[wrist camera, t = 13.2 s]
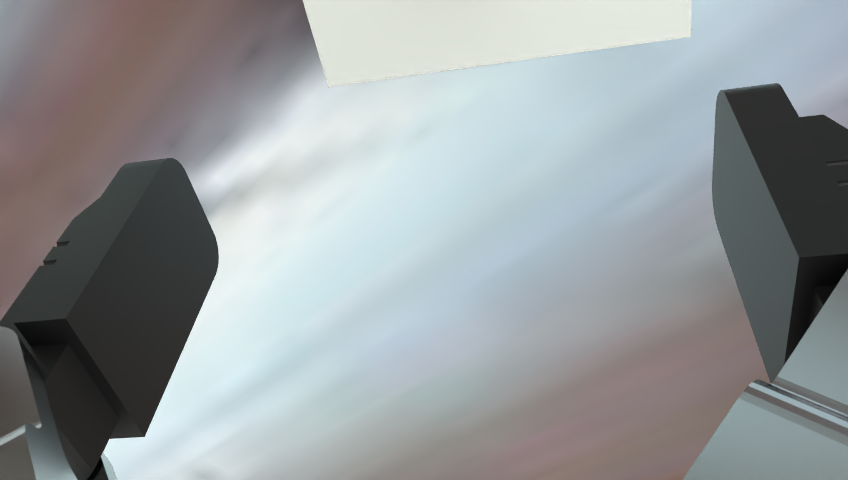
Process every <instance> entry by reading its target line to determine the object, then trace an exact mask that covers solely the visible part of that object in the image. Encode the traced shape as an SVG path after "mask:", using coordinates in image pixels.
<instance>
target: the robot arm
mask: <svg viewBox="0 0 848 480" xmlns="http://www.w3.org/2000/svg"><path fill="white" fill-rule="evenodd" d="M712 196H713V207H714V214H715V219H716V224H717V227H718V231H719V233H720V236H721V239H722V242H723V245H724V248H725V251H726V254H727V257H728V260H729V263H730V266H731V269H732V271H733V274H734V277H735V280H736V283H737V286H738V289H739V292H740V295H741V298H742V301H743V304H744V307H745V309H746V312H747V315H748V318H749V321H750V324H751V327H752V330H753V333H754V336H755V339H756V342H757V345H758V347H759V350H760V353H761V356H762V359H763V362H764V365H765V368H766V371H767V374H768V377H769V380H770V383H771V384H768V383H766V382H763V381H761V380H755V381H754V382H752V383H751V384H750V385H749V386H748V387H747V388H746V389H745V390H744V391H743V393H742V394H741V395H740V397H739V398H738V399H737V401H736V402H735V404H734V405H733V407H732V408H731V410H730V411H729V413H728V414H727V416H726V417H725V418H724V420H723V421H722V423H721V424H720V426H719V427H718V429H717V430H716V432H715V433H714V435H713V436H712V438H711V439H710V440H709V442H708V443H707V445H706V446H705V448H704V449H703V451H702V452H701V454H700V455H699V457H698V458H697V459H696V461H695V462H694V464H693V465H692V467H691V468H690V470H689V471H688V473H687V474H686V476H685V477H684V479H683V480H848V129H846V128H845V127H843V126H841V125H840V124H838V123H836V122H835V121H833V120H831V119H830V118H828V117H827V116H825V115H816V116H807V117H799V116H798V114H797V113H796V111H795V109H794V107H793V106H792V104H791V102H790V100H789V99H788V97H787V95H786V94H785V92H784V90H783V88H782V87H781V85H779V84H777V83H775V84H767V85H759V86H751V87H743V88H735V89H727V90H721V91H719V93H718V96H717V101H716V114H715V135H714V157H713V178H712ZM56 243H57V247H53V248H52V249H51V251H50V252H49V254H48V255H47V256H46V258H45V259H44V261H43V262H44V266H39V268H38V269H37V271H36V272H35V273H34V275H33V276H32V278H31V279H30V280H29V282H28V283H27V285H26V286H25V287H24V289H23V290H22V292H21V293H20V294H19V296H18V297H17V299H16V300H15V301H14V303H13V304H12V306H11V307H10V308H9V310H8V311H7V313H6V314H5V315H4V317H3V318H2V320H1V321H0V480H117V478H116V475H115V472H114V469H113V466H112V465H111V463H110V461H109V460H108V458H107V457H106V456H105V454H104V453H103V451H104V449H105V447H106V445H107V443H108V440H109V439H113V438H131V437H145V435H146V432H147V430H148V428H149V425H150V423H151V421H152V419H153V416H154V414H155V412H156V409H157V407H158V405H159V403H160V400H161V398H162V396H163V394H164V391H165V389H166V387H167V384H168V382H169V380H170V378H171V375H172V373H173V371H174V368H175V366H176V364H177V362H178V359H179V357H180V355H181V353H182V350H183V348H184V346H185V343H186V341H187V339H188V337H189V334H190V332H191V330H192V327H193V325H194V323H195V321H196V318H197V316H198V314H199V311H200V309H201V307H202V305H203V302H204V300H205V298H206V296H207V293H208V291H209V289H210V286H211V284H212V282H213V280H214V277H215V275H216V272H217V268H218V259H219V256H218V246H217V241H216V238H215V235H214V233H213V230H212V228H211V226H210V224H209V222H208V219H207V217H206V215H205V213H204V211H203V208H202V206H201V204H200V202H199V200H198V198H197V195H196V193H195V191H194V189H193V187H192V184H191V182H190V180H189V178H188V176H187V174H186V171H185V170H184V168H183V166H182V165H181V164H180V163H179V162H178V161H177V160H176V159H173V158H167V159H159V160H151V161H143V162H135V163H128V164H125V165H123V166H122V167H121V168H120V170H119V171H118V173H117V174H116V176H115V177H114V178H113V180H112V181H111V183H110V184H109V186H108V187H107V189H106V190H105V191H104V193H103V194H102V196H101V197H100V198H99V199H97V200H96V201H95V202H94V203H92V204H91V205H90V206H89V207H88V208H86V209H85V210H84V211H83V212H81V213H80V214H79V215H78V216H77V217H75V218H74V219H73V220H72V221H71V223H70V224H69V226H68V227H67V228H66V230H65V231H64V233H63V234H62V235H61V237H60V238H59V240H58V241H57V242H56Z"/></svg>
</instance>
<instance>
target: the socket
mask: <svg viewBox="0 0 848 480" xmlns="http://www.w3.org/2000/svg"><path fill="white" fill-rule="evenodd" d="M303 3H304V6H305V10H306V13H307V16H308V20H309V23H310V27H311V30H312V33H313V37H314V40H315V43H316V47H317V50H318V54H319V57H320V60H321V64H322V67H323V70H324V74H325V77H326V81H327V84H328V87H334V86H341V85H348V84H355V83H362V82H369V81H377V80H384V79H391V78H398V77H405V76H412V75H420V74H427V73H434V72H441V71H448V70H456V69H463V68H470V67H477V66H484V65H491V64H499V63H506V62H513V61H520V60H527V59H534V58H542V57H549V56H556V55H563V54H570V53H578V52H585V51H592V50H599V49H606V48H613V47H621V46H628V45H635V44H642V43H649V42H656V41H664V40H671V39H678V38H685V37H691V11H692V0H303Z"/></svg>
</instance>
